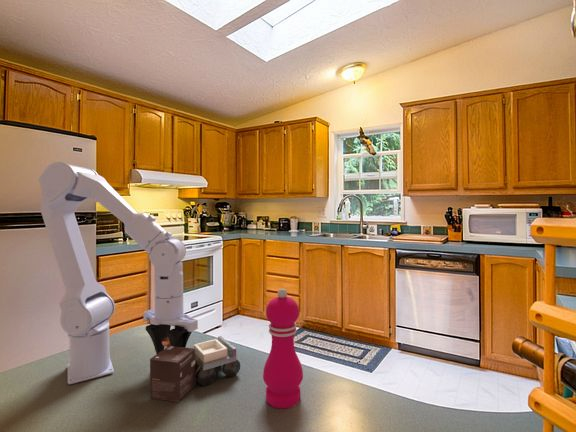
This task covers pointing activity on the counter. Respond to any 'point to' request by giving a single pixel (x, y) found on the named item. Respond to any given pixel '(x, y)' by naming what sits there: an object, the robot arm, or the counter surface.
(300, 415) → the counter surface
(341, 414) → the counter surface
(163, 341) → the pin
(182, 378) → the box
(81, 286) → the robot arm
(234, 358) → the trolley
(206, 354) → the tray
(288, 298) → the pepper mill
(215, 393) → the counter surface
